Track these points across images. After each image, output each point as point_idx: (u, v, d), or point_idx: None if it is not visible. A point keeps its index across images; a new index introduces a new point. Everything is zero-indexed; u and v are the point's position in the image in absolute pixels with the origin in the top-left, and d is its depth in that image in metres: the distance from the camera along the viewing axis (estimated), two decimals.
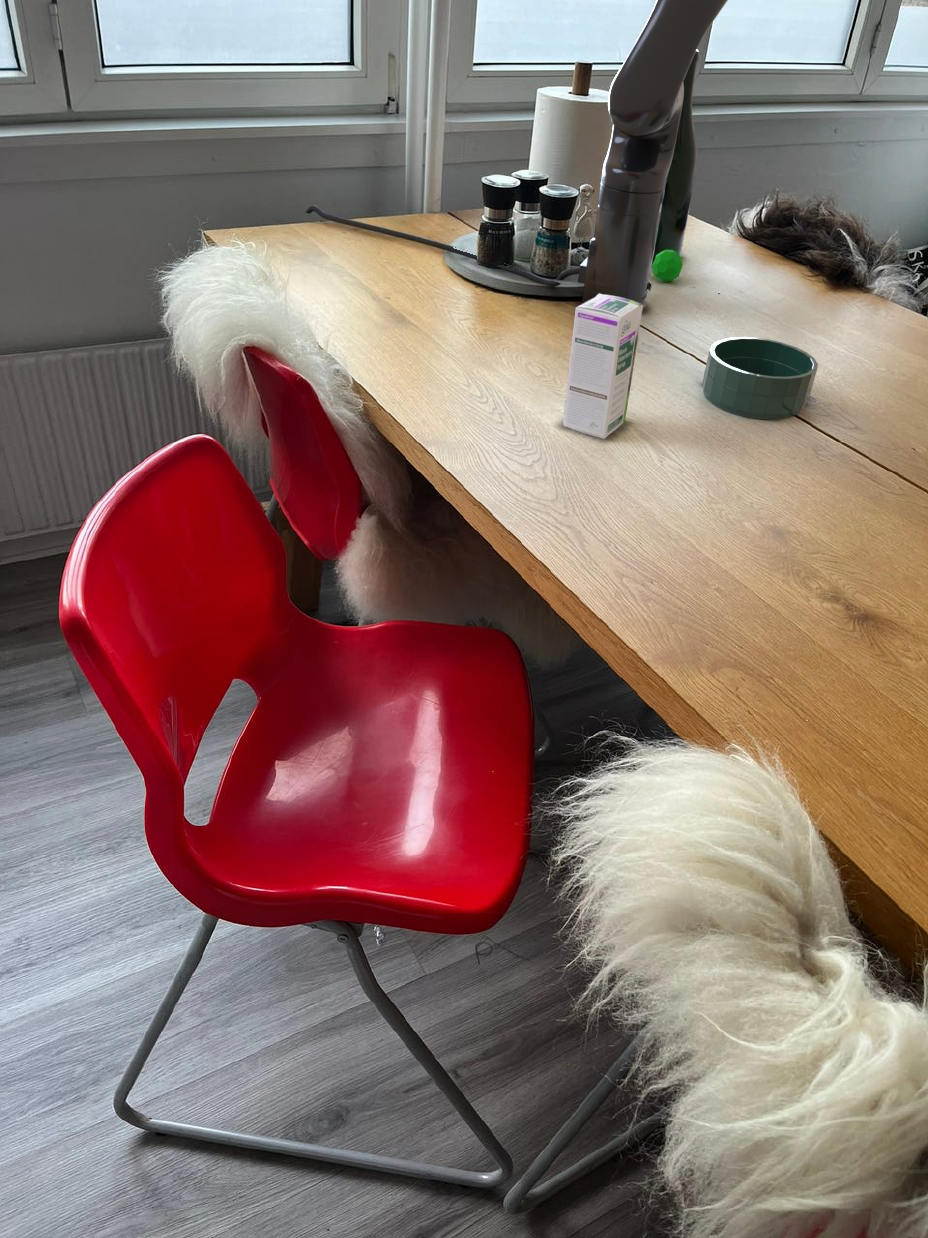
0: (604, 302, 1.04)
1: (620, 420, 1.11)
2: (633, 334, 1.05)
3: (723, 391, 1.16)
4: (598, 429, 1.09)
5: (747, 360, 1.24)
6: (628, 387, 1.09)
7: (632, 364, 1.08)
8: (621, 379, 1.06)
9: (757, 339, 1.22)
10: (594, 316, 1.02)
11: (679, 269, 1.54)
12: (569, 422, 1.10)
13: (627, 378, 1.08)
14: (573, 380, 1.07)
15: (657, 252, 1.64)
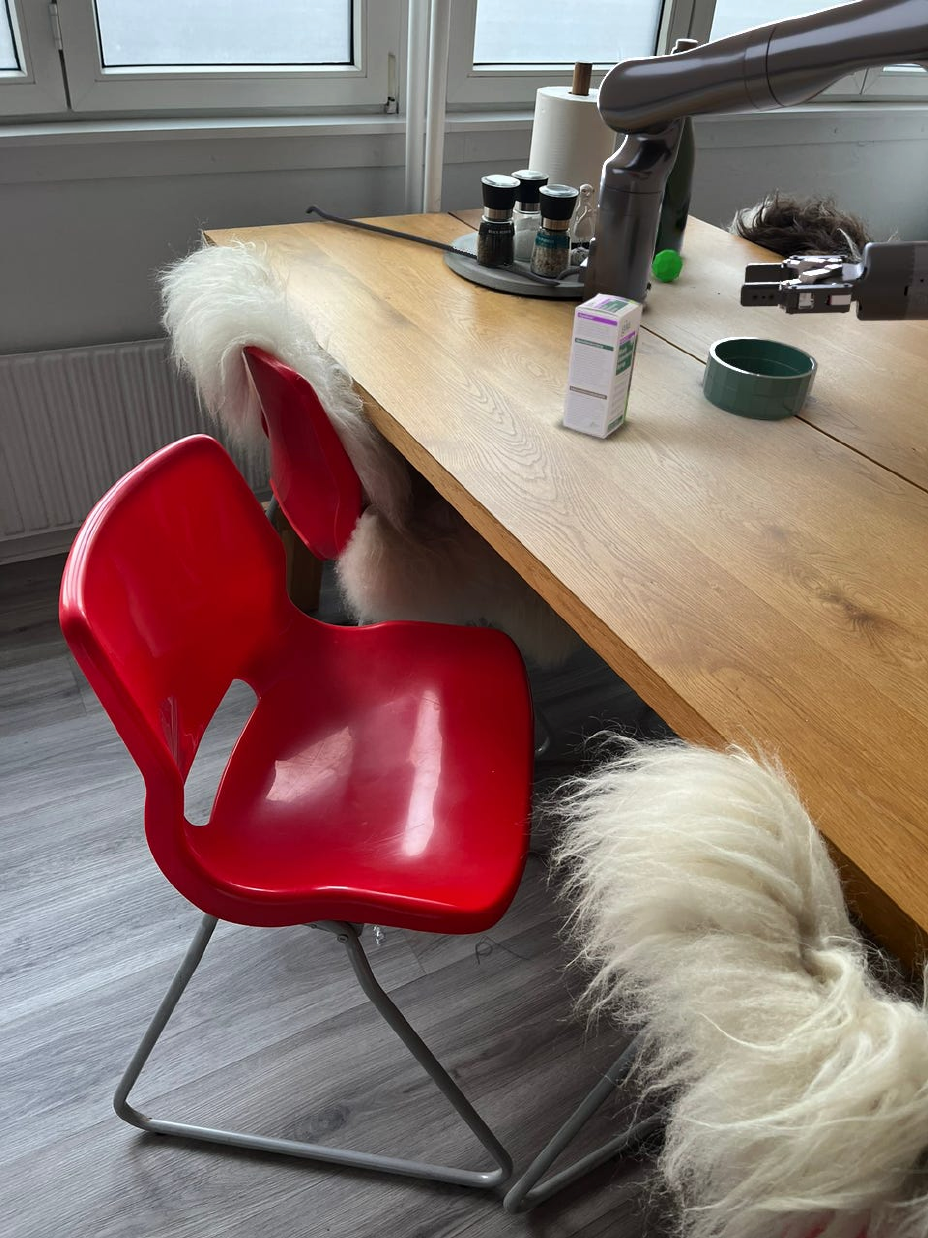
0: (604, 302, 1.04)
1: (620, 420, 1.11)
2: (633, 334, 1.05)
3: (723, 391, 1.16)
4: (598, 429, 1.09)
5: (747, 360, 1.24)
6: (628, 387, 1.09)
7: (632, 364, 1.08)
8: (621, 379, 1.06)
9: (757, 339, 1.22)
10: (594, 316, 1.02)
11: (679, 269, 1.54)
12: (569, 422, 1.10)
13: (627, 378, 1.08)
14: (572, 380, 1.07)
15: (657, 252, 1.64)
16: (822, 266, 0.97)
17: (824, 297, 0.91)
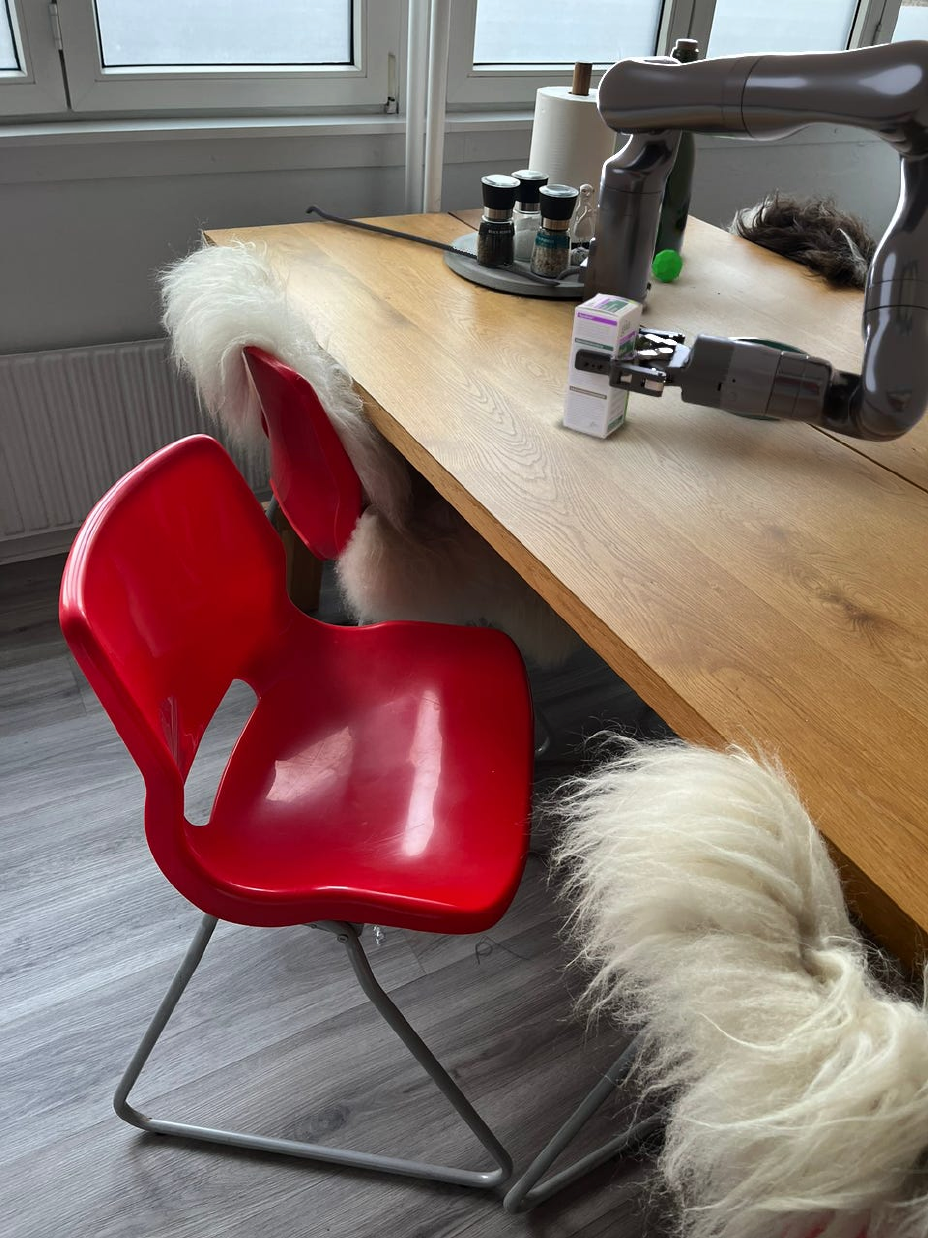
0: (604, 301, 1.04)
1: (620, 420, 1.11)
2: (633, 334, 1.05)
3: None
4: (598, 429, 1.09)
5: None
6: None
7: None
8: None
9: (757, 339, 1.22)
10: (594, 316, 1.02)
11: (679, 269, 1.54)
12: (569, 422, 1.10)
13: None
14: (572, 380, 1.07)
15: (657, 252, 1.64)
16: (659, 345, 1.06)
17: (639, 379, 1.00)
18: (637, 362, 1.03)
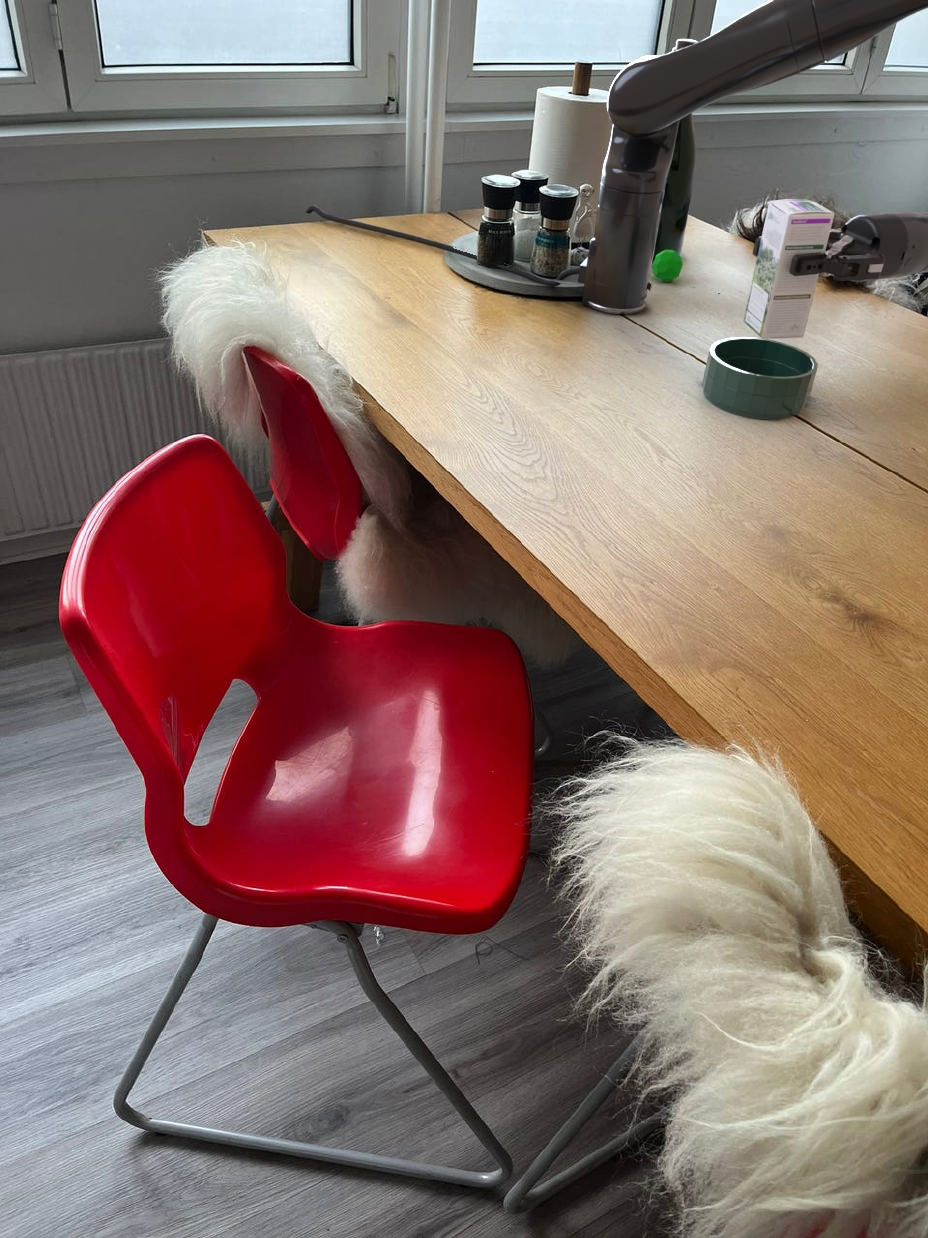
0: (796, 205, 1.07)
1: None
2: None
3: (723, 391, 1.16)
4: (798, 329, 1.13)
5: (747, 360, 1.24)
6: None
7: None
8: None
9: (757, 339, 1.22)
10: (808, 219, 1.05)
11: (679, 269, 1.54)
12: (769, 332, 1.13)
13: None
14: (778, 289, 1.09)
15: (657, 252, 1.64)
16: None
17: (866, 266, 1.07)
18: (841, 253, 1.08)
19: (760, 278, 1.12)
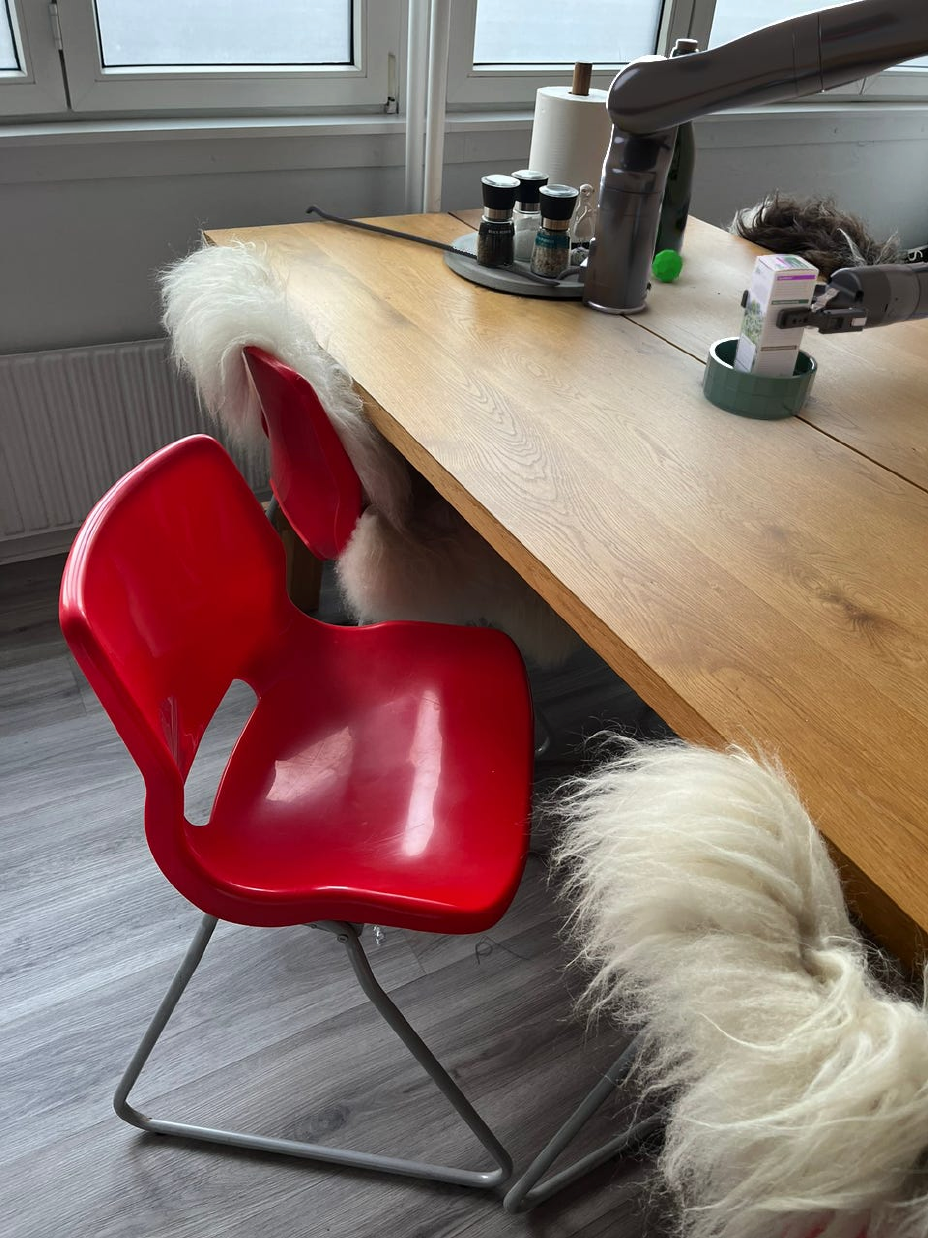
0: (782, 261, 1.10)
1: None
2: None
3: (723, 391, 1.16)
4: None
5: None
6: None
7: None
8: None
9: None
10: (793, 276, 1.09)
11: (679, 269, 1.54)
12: None
13: None
14: (765, 341, 1.13)
15: (657, 252, 1.64)
16: None
17: (850, 320, 1.11)
18: (826, 307, 1.12)
19: (747, 329, 1.16)
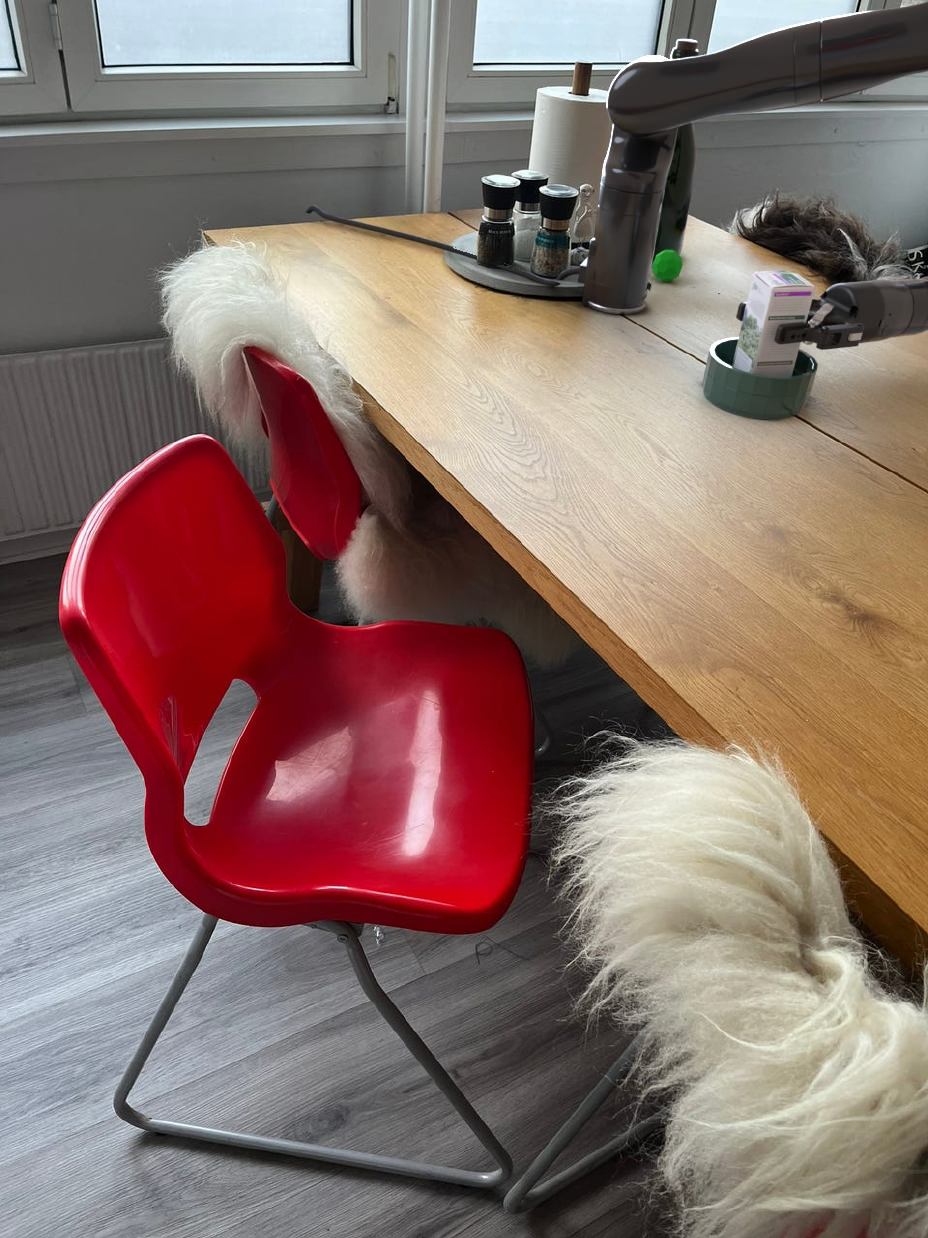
0: (779, 277, 1.11)
1: None
2: None
3: (723, 391, 1.16)
4: None
5: None
6: None
7: None
8: None
9: None
10: (790, 292, 1.10)
11: (679, 269, 1.54)
12: None
13: None
14: (761, 356, 1.14)
15: (657, 252, 1.64)
16: None
17: (847, 335, 1.12)
18: None
19: (744, 344, 1.17)
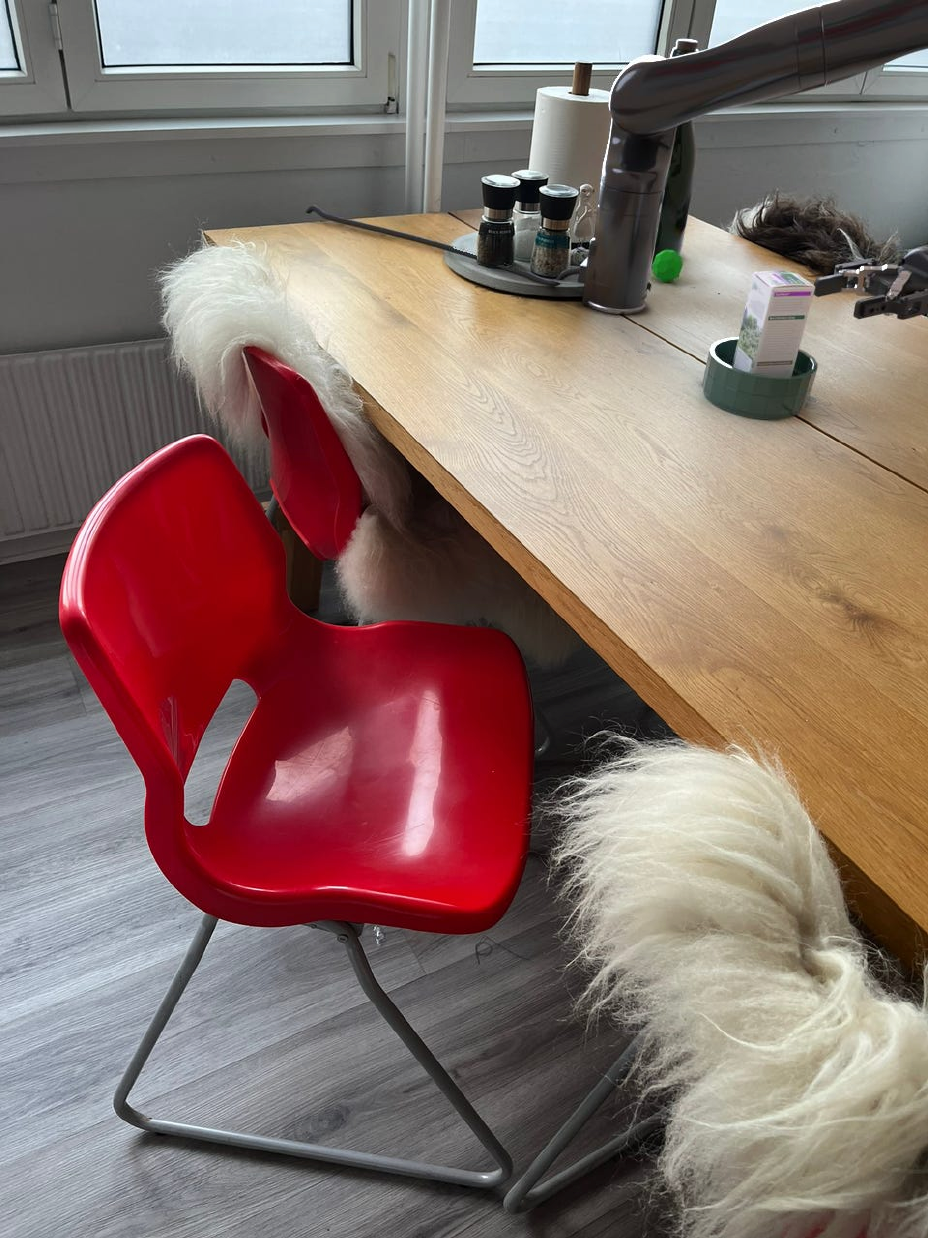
0: (779, 277, 1.12)
1: None
2: None
3: (723, 391, 1.16)
4: None
5: None
6: None
7: None
8: None
9: None
10: (790, 292, 1.10)
11: (679, 269, 1.54)
12: None
13: None
14: (761, 356, 1.14)
15: (657, 252, 1.64)
16: (883, 272, 1.19)
17: (927, 302, 1.14)
18: None
19: (744, 344, 1.17)
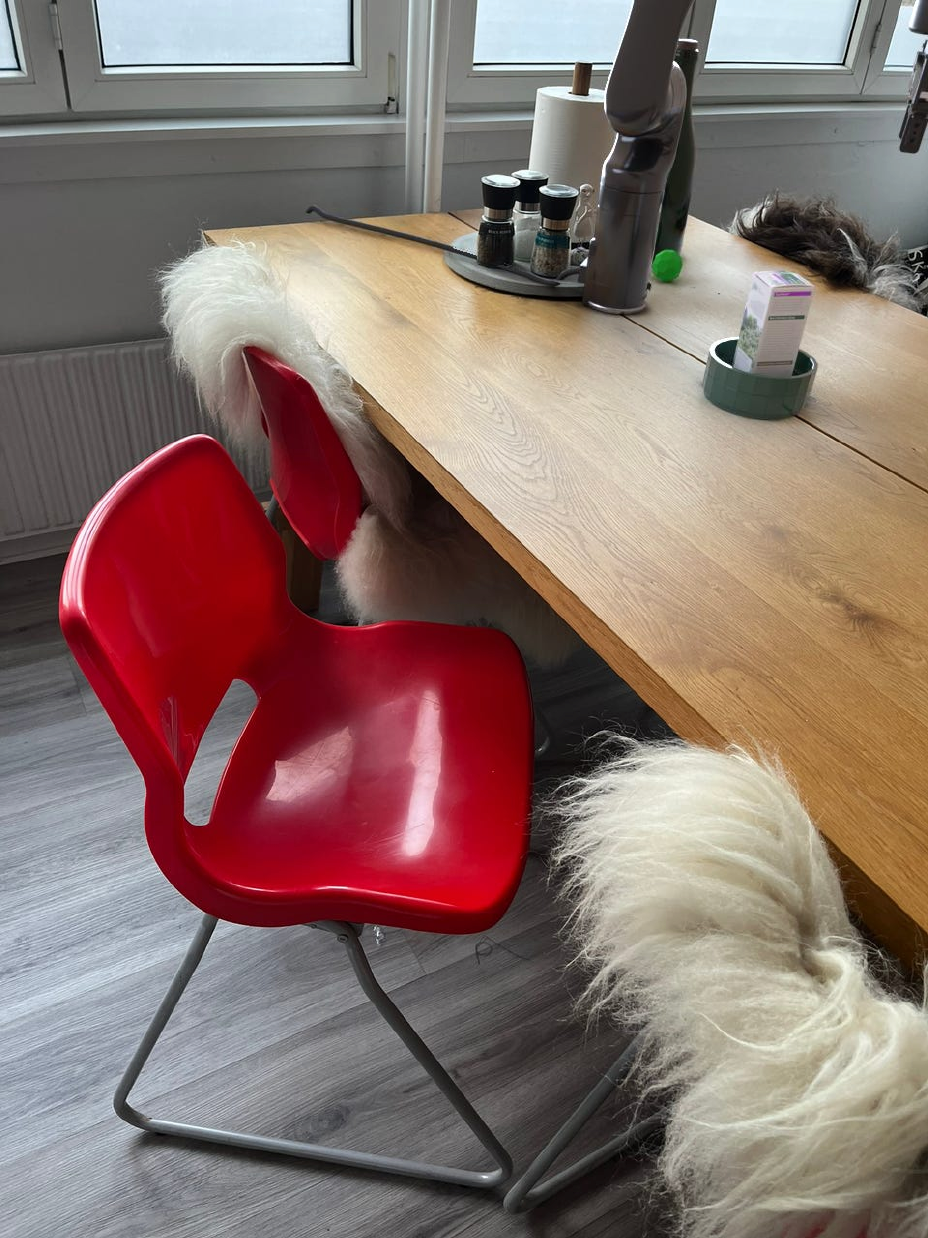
0: (779, 277, 1.12)
1: None
2: None
3: (723, 391, 1.16)
4: None
5: None
6: None
7: None
8: None
9: None
10: (790, 292, 1.10)
11: (679, 269, 1.54)
12: None
13: None
14: (761, 356, 1.14)
15: (657, 252, 1.64)
16: None
17: None
18: None
19: (744, 344, 1.17)
